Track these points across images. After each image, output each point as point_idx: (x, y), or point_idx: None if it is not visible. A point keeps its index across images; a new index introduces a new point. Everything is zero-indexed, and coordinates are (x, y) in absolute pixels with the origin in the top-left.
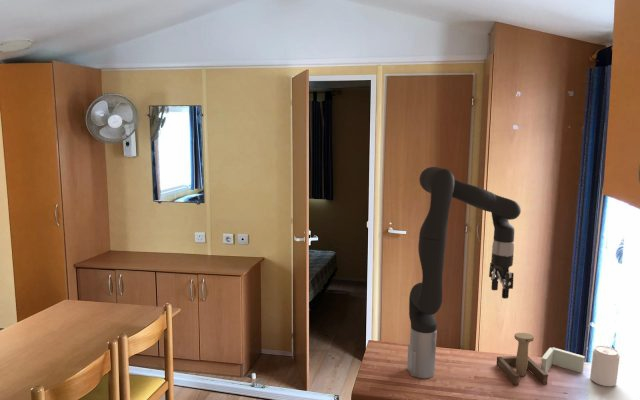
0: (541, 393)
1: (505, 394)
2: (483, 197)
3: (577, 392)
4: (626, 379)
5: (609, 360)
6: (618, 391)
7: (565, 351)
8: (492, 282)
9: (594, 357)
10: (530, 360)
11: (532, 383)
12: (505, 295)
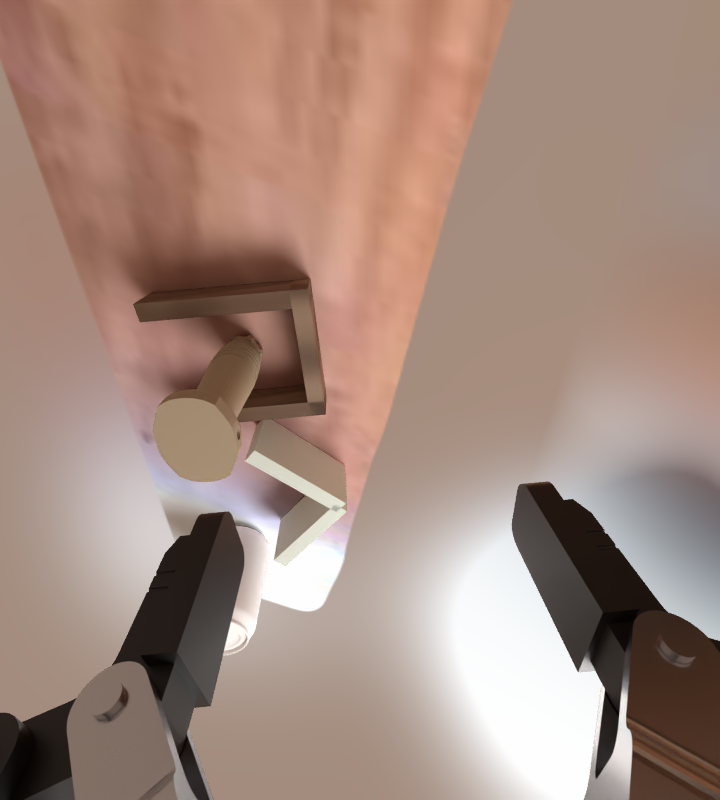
0: (118, 367)
1: (60, 225)
2: None
3: (159, 468)
4: None
5: None
6: None
7: (316, 533)
8: (590, 584)
9: None
10: (285, 410)
11: (184, 364)
12: (162, 572)
